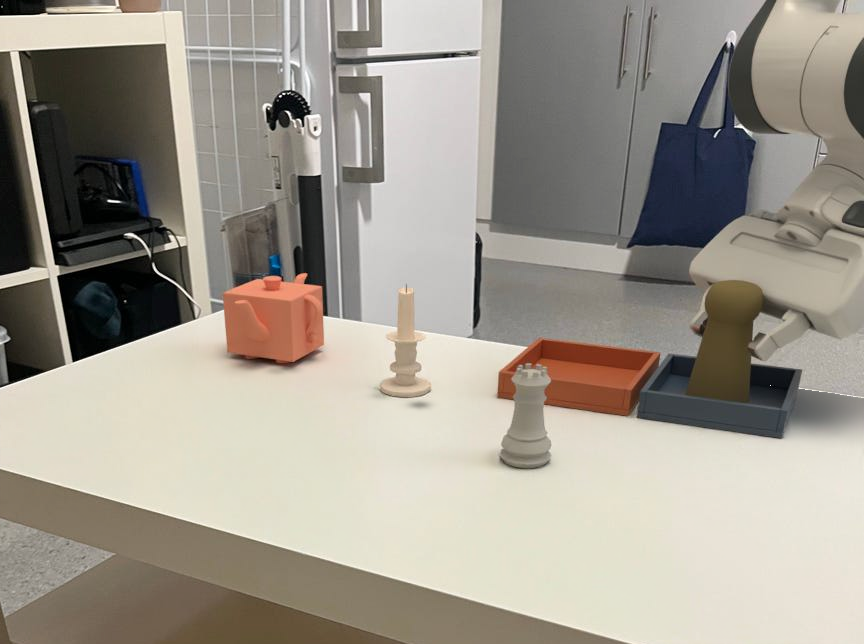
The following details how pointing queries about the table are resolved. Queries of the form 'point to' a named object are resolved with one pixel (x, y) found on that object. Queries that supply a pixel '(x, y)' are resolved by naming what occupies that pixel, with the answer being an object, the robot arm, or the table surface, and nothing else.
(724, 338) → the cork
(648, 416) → the slate tray
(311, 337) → the teapot
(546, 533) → the table surface
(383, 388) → the candle
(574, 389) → the terracotta tray
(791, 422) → the table surface
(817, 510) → the table surface
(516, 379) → the rook chess piece
